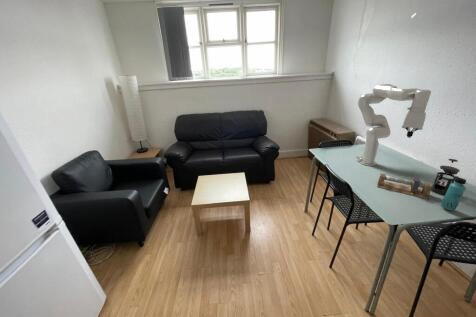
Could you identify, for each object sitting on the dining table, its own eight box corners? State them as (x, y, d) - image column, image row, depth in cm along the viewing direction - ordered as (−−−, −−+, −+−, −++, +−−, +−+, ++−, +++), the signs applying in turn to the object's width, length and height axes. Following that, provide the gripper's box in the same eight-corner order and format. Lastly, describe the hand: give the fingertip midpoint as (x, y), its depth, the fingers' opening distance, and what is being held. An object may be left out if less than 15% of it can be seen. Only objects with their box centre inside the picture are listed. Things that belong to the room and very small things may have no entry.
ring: (411, 191, 132) (415, 180, 128) (410, 186, 137) (414, 175, 134) (416, 192, 130) (420, 181, 127) (415, 187, 136) (419, 176, 133)
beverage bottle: (436, 206, 120) (449, 176, 112) (446, 205, 121) (460, 175, 113) (447, 213, 114) (462, 182, 106) (458, 212, 115) (473, 181, 107)
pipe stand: (377, 187, 141) (379, 177, 138) (378, 180, 149) (380, 171, 146) (428, 199, 127) (432, 188, 124) (426, 191, 134) (430, 181, 131)
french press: (433, 194, 132) (447, 161, 122) (426, 186, 140) (438, 155, 131) (456, 196, 128) (472, 163, 119) (447, 189, 136) (461, 157, 127)
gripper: (403, 110, 132) (395, 137, 140) (433, 111, 124) (423, 140, 132) (402, 108, 138) (395, 134, 145) (432, 109, 130) (422, 137, 137)
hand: (408, 137), depth 138 cm, fingers closed
